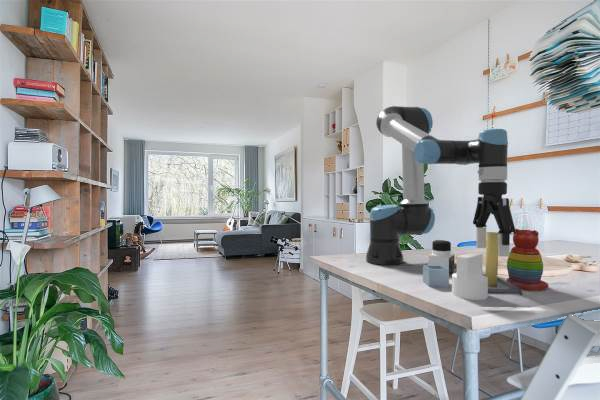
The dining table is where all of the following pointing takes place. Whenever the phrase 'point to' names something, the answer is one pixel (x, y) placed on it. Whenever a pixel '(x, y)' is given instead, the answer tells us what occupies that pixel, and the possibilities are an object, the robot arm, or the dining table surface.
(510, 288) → the tray
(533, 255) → the stacking bear
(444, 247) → the medicine bottle
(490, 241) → the dowel
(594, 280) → the dining table surface
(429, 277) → the pen cup
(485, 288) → the base with upright slab
